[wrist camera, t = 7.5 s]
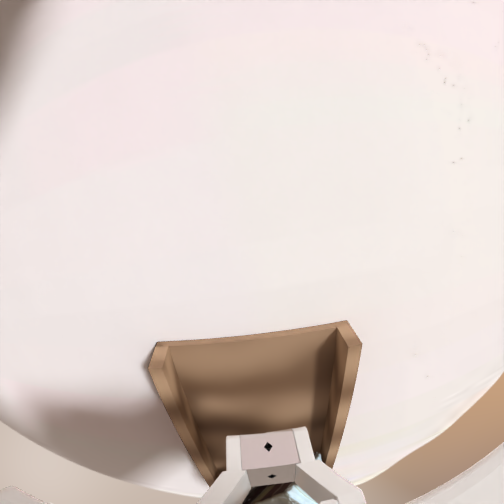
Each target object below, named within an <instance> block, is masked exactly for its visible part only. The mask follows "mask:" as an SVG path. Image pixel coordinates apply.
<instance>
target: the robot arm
mask: <svg viewBox="0 0 504 504" xmlns="http://www.w3.org/2000/svg"><path fill="white" fill-rule="evenodd" d="M287 482H295V483H296V484H297V485H298V486H299V487H300V488H301V489H302V490H303V491H305V492H306V493H307V494H308V495H309V496H310V497H311V498H312V499H313V500H314V501H316V502H317V503H318V504H367V503H366V500H365V497H364V494H363V491H362V490H361V489H360V488H358V487H357V486H355V485H354V484H352V483H351V482H349V481H348V480H347V479H345V478H344V477H342V476H341V475H339V474H338V473H337V472H335V471H334V470H333V469H331V468H330V467H328V466H327V465H326V464H324V463H323V462H322V461H321V460H315V457H314V453H313V450H312V446H311V442H310V439H309V435H308V431H307V428H306V427H305V426H304V427H298V428H293V429H292V428H291V429H285V430H279V431H273V432H266V433H258V434H248V435H233V436H227V437H226V471H222V473H221V474H220V475H219V477H218V478H217V479H216V481H215V482H214V483H213V484H212V486H211V487H210V488H209V489H208V491H207V492H206V493H205V494H204V495H203V497H202V498H201V499H200V500H199V502H198V503H197V504H242V503H243V501H244V499H245V498H246V496H247V494H248V493H249V491H250V490H251V487H255V486H263V485H271V484H279V483H287ZM0 504H47V503H46V502H43V501H41V500H39V499H37V498H35V497H33V496H31V495H29V494H28V493H26V492H24V491H22V490H20V489H19V488H17V487H14V486H9V487H6V488H4V489H2V490H0ZM405 504H504V442H503V443H502V444H501V445H499V446H498V447H497V448H496V449H494V450H493V451H492V452H491V453H489V454H488V455H487V456H485V457H484V458H483V459H481V460H480V461H478V462H477V463H476V464H474V465H473V466H471V467H470V468H468V469H467V470H465V471H464V472H462V473H461V474H459V475H458V476H456V477H454V478H453V479H451V480H450V481H448V482H446V483H444V484H443V485H441V486H439V487H437V488H435V489H434V490H432V491H430V492H428V493H426V494H424V495H422V496H420V497H418V498H416V499H414V500H412V501H410V502H408V503H405Z"/></svg>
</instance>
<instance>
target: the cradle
mask: <svg viewBox="0 0 504 504" xmlns="http://www.w3.org/2000/svg"><path fill="white" fill-rule="evenodd" d="M361 349H362V342H361V341H360V339H359V338H358V336H357V335H356V333H355V332H354V330H353V329H352V327H351V326H350V324H349V323H348V321H347V320H346V321H341V322H335V323H330V324H324V325H318V326H312V327H306V328H299V329H292V330H285V331H278V332H270V333H262V334H254V335H245V336H235V337H225V338H213V339H200V340H185V341H166V342H157V344H156V346H155V349H154V352H153V355H152V358H151V361H150V364H149V367H148V370H149V372H150V375H151V377H152V379H153V382H154V384H155V386H156V389H157V391H158V393H159V395H160V397H161V400H162V402H163V404H164V406H165V408H166V410H167V412H168V414H169V416H170V418H171V420H172V422H173V424H174V426H175V428H176V430H177V432H178V434H179V436H180V438H181V440H182V442H183V443H184V445H185V447H186V449H187V451H188V452H189V454H190V456H191V458H192V459H193V461H194V463H195V464H196V466H197V468H198V469H199V471H200V473H201V474H202V476H203V477H204V479H205V481H206V482H207V484H208V485H209V487H211V486H212V484H213V483H214V482H215V481H216V479H217V478H218V477H219V475H220V474H221V473H222V471H226V437H227V436H233V435H248V434H258V433H266V432H273V431H279V430H285V429H291V428H292V429H293V428H298V427H304V426H305V427H306V428H307V431H308V435H309V439H310V442H311V446H312V450H313V453H314V452H316V451H317V452H318V453H320V454H321V460H322V462H323V463H324V464H326V465H327V466H328V467H330V468H331V469H332V468H333V465H334V462H335V459H336V455H337V452H338V449H339V446H340V442H341V439H342V435H343V432H344V428H345V424H346V420H347V416H348V412H349V408H350V404H351V400H352V395H353V391H354V386H355V381H356V377H357V371H358V366H359V361H360V355H361Z"/></svg>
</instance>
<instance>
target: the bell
mask: <svg viewBox="0 0 504 504" xmlns="http://www.w3.org/2000/svg"><path fill="white" fill-rule="evenodd" d="M314 457H315V460H321V454H320V453H318V452H317V451H316V452H314ZM321 461H322V460H321ZM242 504H318V503H317V502H316V501H314V500H313V499H312V498H311V497H310V496H309V495H308V494H307V493H306V492H305V491H303V490H302V489H301V488H300V487H299V486H298V485H297V484H296V483H295V482H287V483H279V484H271V485H263V486H255V487H251V490H250V491H249V493H248V494H247V496H246V498H245V499H244V501H243V503H242Z"/></svg>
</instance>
